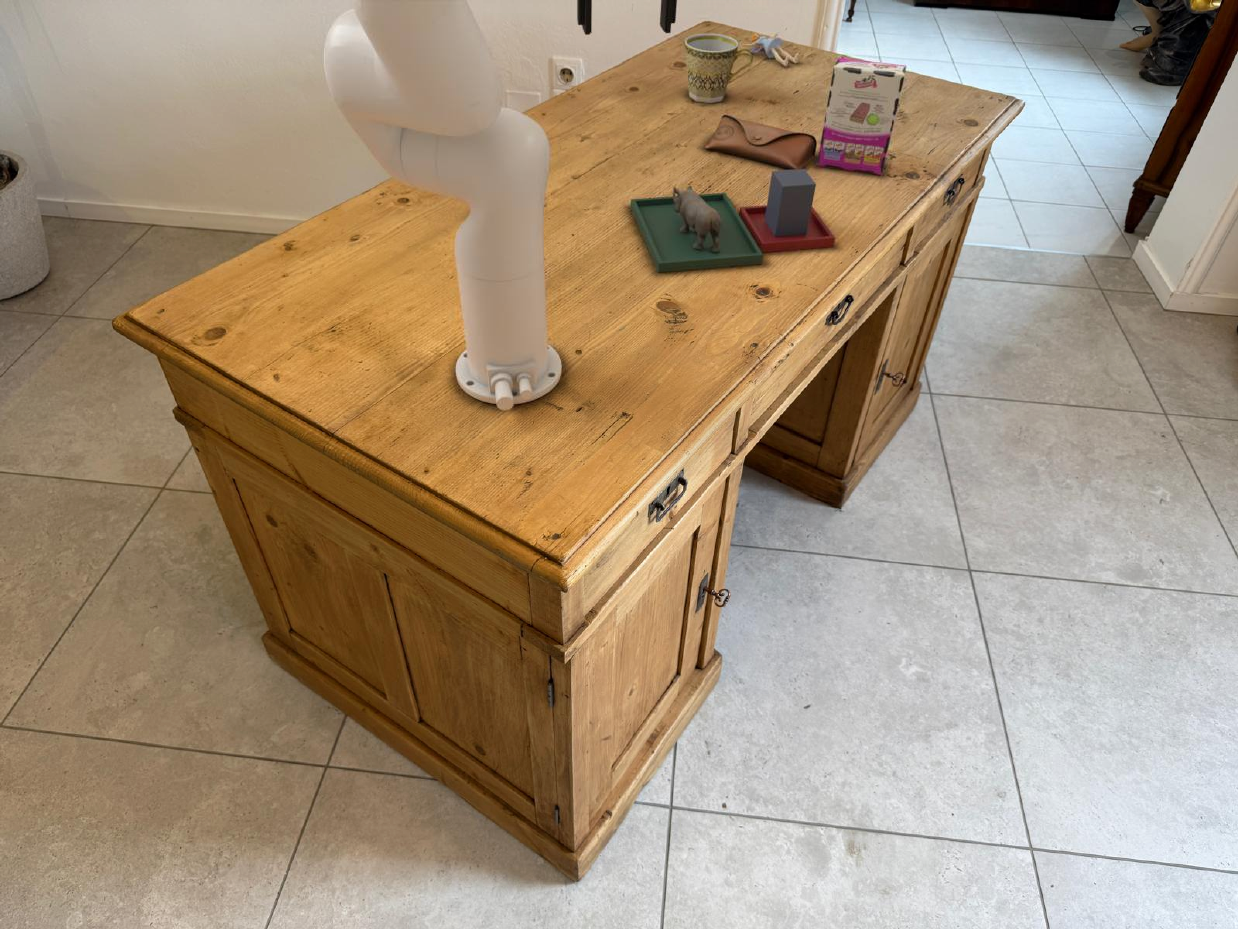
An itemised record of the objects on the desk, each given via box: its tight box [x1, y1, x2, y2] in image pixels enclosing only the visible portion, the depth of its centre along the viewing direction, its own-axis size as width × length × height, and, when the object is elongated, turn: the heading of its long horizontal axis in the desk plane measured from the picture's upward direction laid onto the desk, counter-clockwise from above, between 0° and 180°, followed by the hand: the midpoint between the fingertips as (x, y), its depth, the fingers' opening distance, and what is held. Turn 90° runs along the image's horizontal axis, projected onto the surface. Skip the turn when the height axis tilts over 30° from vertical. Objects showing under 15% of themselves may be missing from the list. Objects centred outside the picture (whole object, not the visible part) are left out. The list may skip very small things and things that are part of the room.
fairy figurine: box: [741, 32, 800, 67], centre depth 186 cm, size 12×5×12 cm
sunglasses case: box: [704, 114, 818, 170], centre depth 151 cm, size 18×7×7 cm, turn 63°
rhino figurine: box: [672, 185, 722, 253], centre depth 129 cm, size 4×14×6 cm, turn 21°
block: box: [765, 168, 817, 237], centre depth 129 cm, size 5×5×8 cm
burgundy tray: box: [738, 204, 836, 254], centre depth 132 cm, size 11×11×2 cm
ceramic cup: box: [684, 32, 754, 104], centre depth 166 cm, size 13×10×10 cm
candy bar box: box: [816, 57, 907, 176], centre depth 144 cm, size 11×5×16 cm, turn 73°
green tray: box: [630, 192, 764, 273], centre depth 130 cm, size 19×15×2 cm
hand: (626, 30), depth 106 cm, fingers open, 9 cm apart
